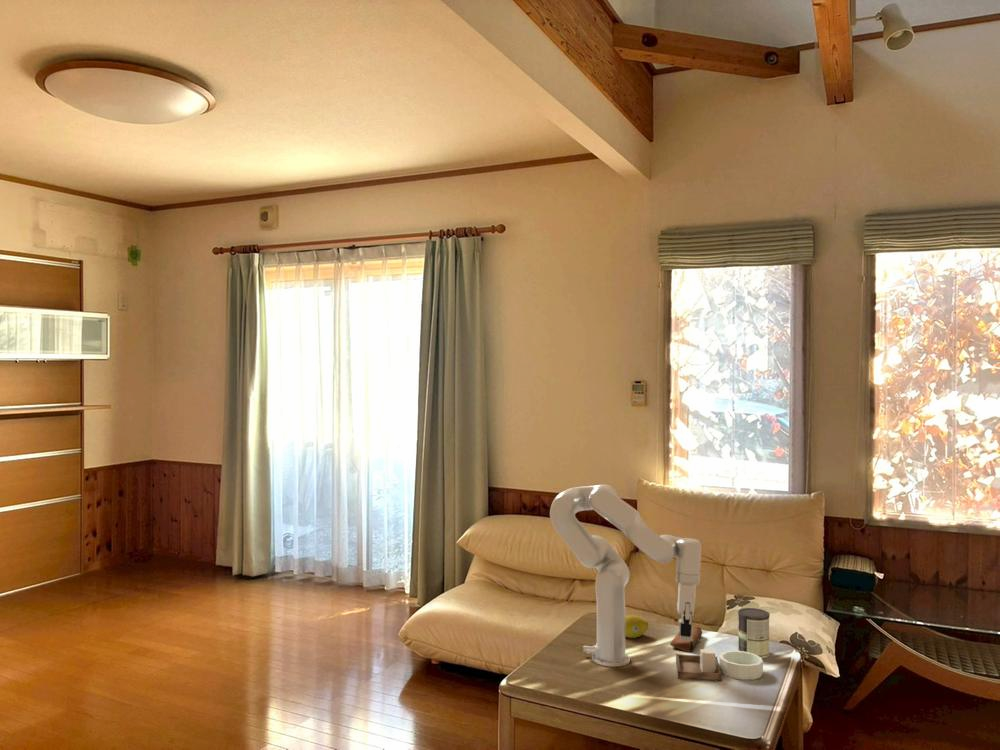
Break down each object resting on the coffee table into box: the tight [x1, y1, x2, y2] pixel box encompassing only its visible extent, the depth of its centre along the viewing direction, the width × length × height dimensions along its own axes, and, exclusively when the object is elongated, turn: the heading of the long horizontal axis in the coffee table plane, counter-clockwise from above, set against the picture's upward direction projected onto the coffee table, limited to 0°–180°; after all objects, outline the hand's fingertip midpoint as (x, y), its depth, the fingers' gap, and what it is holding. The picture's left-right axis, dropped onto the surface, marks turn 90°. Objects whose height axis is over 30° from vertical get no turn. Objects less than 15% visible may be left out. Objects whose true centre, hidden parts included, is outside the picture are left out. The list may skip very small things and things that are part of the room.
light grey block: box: [678, 618, 693, 641], centre depth 244 cm, size 4×4×6 cm
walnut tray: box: [675, 653, 723, 683], centre depth 243 cm, size 13×16×2 cm
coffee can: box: [737, 607, 770, 659], centre depth 259 cm, size 10×10×14 cm
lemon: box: [625, 614, 649, 639], centre depth 275 cm, size 11×8×8 cm
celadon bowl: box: [718, 650, 764, 681], centre depth 242 cm, size 13×13×4 cm
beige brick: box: [699, 648, 716, 672], centre depth 243 cm, size 4×4×6 cm
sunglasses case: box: [669, 626, 703, 653], centre depth 269 cm, size 18×7×7 cm
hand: (685, 633), depth 244 cm, fingers closed on light grey block, 3 cm apart
